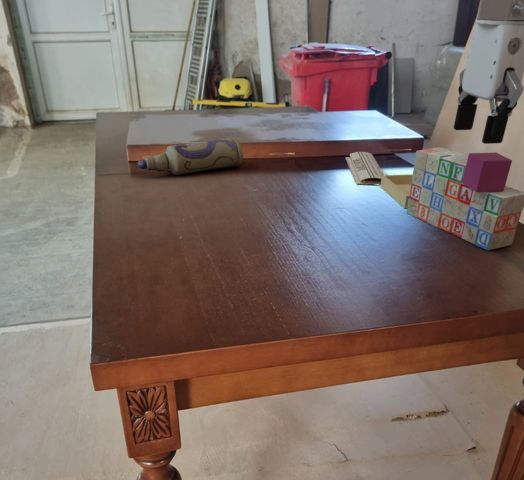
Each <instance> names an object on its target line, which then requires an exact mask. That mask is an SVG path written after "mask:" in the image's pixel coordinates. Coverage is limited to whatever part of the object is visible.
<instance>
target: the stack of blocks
mask: <svg viewBox="0 0 524 480" xmlns="http://www.w3.org/2000/svg"><path fill="white" fill-rule="evenodd" d="M468 156H469V154H466V153H461V152H458V151H454V150H452V149H448V148H445V147H441V146H440V147H433V148H426V149H425V148H424V149H419V150H416V153H415V159H414V166H413V171H412V174H413V176H412V184H411V190H410V197H409V201H408V207H407V208H406V214H408V215H410V216H412V217H415V218H417V219H418V220H420V221H423V222H425V223H427V224H428V225H429V224H430V225H431V226H433V227H436V228H437V229H441V230H443V231H444V232H447V233H448V234H449V233H450V234H451V235H454V236H456V237H458V238H461V239H462V240H464V241H467V242H469V243H471V244H472V245H475V246H477V247H478V248H481V249H483V250H485V251H492V250H496V249H499V248H504V247H509V246H512V244H513V242H514V239H515V236H516V232H517V229H518V226H519V222H520V219H521V217H522V216H521V215H522V212H523V210H524V191H522V190H519V189H516V188H513V187H511V186H508V185H505V188H504V191H487V192H476V191H474V190H472V189H471V188H469V187H468V186H466V185H465V184H463V183H462V182H463V178H464V173H465V169H466V164H467V160H468Z"/></svg>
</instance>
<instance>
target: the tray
mask: <svg viewBox="0 0 524 480" xmlns="http://www.w3.org/2000/svg"><path fill="white" fill-rule="evenodd" d="M412 176H413V173H411V174H384V175H382V177H381V184H380V185H379V187H380V186H381V187H382V188H383V189H384V190H385V191H386V194H388V195H389V196H390V195H391V196H390V197H391V198H392V199H393V198H394V199H395V200H396V201H395V200H394V199H393V200H394V201H395V202H396V203H397V204H399V205H400V206H401V207H402V208H403V209H407V207H408V201H409V197H410V190H411V184H412ZM381 187H380V188H381ZM382 188H381V189H382ZM383 189H382V190H383ZM384 190H383V191H384ZM385 191H384V192H385Z"/></svg>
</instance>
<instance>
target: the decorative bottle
mask: <svg viewBox="0 0 524 480" xmlns="http://www.w3.org/2000/svg"><path fill="white" fill-rule="evenodd" d="M243 160H244V152H243V147H242V144H241V143H240V141H239V140H238V139H237V138H235V137H229V138H222V139H211V140H201V141H196V142H188V143H182V144H174V145H169V146H167V148H166V150H165V153H163V152H162V153H158V154H155V155H154V156H147V157H145V158H143V159H141V160H140V159H139V160H138V161H137V164H136V166H137V168H138V169H141V170H146V171H157V172H168V173H172V175H177V176H178V175H186V174H191V173H199V172H204V171H212V170H213V171H214V170H218V169H224V168H233V167H235V168H236V167H240V166H241V165H242V162H243Z"/></svg>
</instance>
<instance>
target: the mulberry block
mask: <svg viewBox="0 0 524 480" xmlns="http://www.w3.org/2000/svg"><path fill="white" fill-rule="evenodd" d="M468 155H469V156H468V160H467V164H466V169H465V173H464V178H463V182H462V183H463V184H465V185H466V186H468V187H469V188H471V189H472V190H474V191H476V192H487V191H504V188H505V186H507V185H506V184H507V181H508V177H509V174H510V170H511V168H512V167H511V166H512V163H513V160H512V159H510V158H508V157H507V156H504V155H502V154H500V153H498V152H469V153H468Z"/></svg>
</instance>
